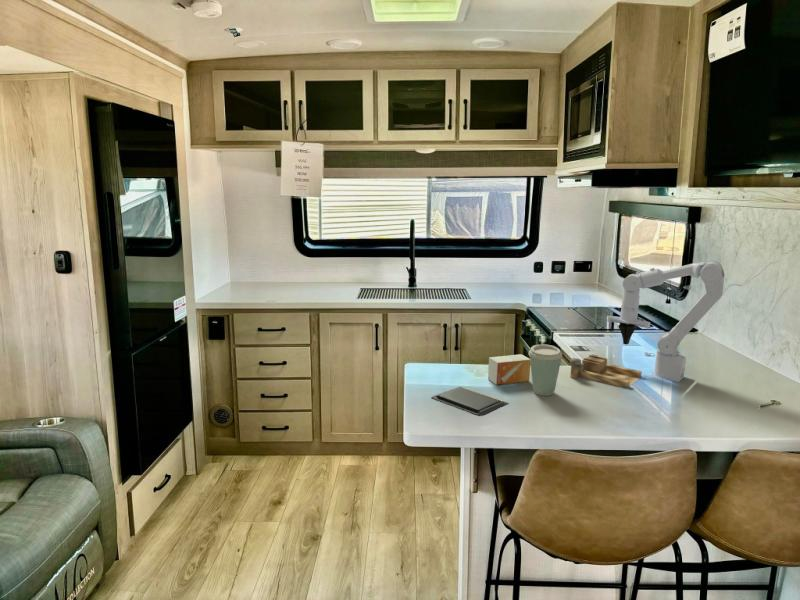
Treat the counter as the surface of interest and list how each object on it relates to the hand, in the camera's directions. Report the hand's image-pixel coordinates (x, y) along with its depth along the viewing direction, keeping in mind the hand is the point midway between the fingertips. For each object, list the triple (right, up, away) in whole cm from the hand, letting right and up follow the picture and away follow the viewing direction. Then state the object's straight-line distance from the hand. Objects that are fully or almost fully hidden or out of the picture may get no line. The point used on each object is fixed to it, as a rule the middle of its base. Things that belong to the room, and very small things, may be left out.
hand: (626, 343), depth 210 cm
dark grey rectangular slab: (-61, -16, -30) cm, 70 cm away
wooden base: (-11, -12, -8) cm, 18 cm away
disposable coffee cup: (-36, -14, -22) cm, 45 cm away
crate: (-13, -10, -4) cm, 17 cm away
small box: (-39, -7, -11) cm, 41 cm away
